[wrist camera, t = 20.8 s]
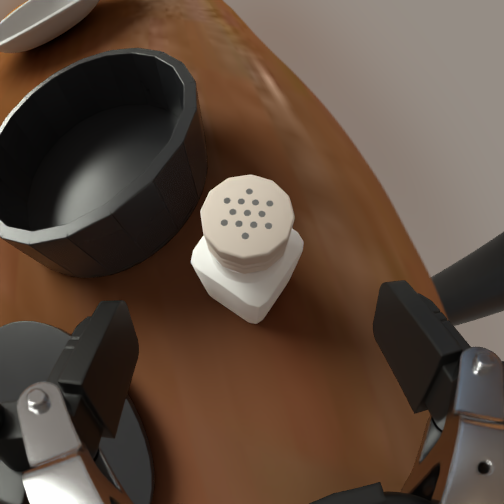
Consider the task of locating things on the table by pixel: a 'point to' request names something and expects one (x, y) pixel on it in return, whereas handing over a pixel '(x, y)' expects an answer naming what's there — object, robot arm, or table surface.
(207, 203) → the pepper shaker
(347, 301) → the table surface
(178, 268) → the table surface
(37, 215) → the pot
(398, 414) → the table surface
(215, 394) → the table surface
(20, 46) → the soup bowl
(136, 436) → the lid
